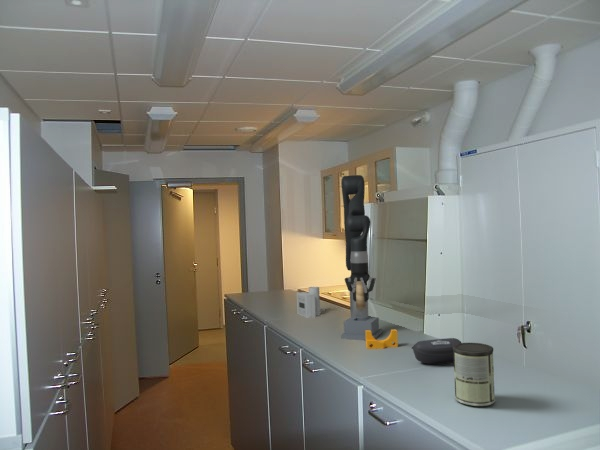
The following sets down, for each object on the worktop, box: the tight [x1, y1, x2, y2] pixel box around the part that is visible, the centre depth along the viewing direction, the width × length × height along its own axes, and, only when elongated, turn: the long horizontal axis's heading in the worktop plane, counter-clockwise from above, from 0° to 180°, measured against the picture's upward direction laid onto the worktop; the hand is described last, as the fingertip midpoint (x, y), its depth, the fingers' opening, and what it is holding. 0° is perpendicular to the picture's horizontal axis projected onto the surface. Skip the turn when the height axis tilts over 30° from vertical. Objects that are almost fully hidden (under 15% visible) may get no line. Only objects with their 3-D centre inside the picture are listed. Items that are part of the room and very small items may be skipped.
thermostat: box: [296, 286, 327, 319], centre depth 260 cm, size 12×14×15 cm
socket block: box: [340, 316, 383, 341], centre depth 209 cm, size 15×14×7 cm
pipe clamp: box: [365, 329, 399, 350], centre depth 188 cm, size 12×4×6 cm, turn 90°
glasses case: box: [411, 337, 462, 365], centre depth 166 cm, size 18×10×8 cm, turn 103°
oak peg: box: [356, 281, 366, 310], centre depth 209 cm, size 4×4×12 cm
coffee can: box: [453, 342, 496, 407], centre depth 130 cm, size 10×10×14 cm
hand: (360, 301), depth 209 cm, fingers closed on oak peg, 4 cm apart
